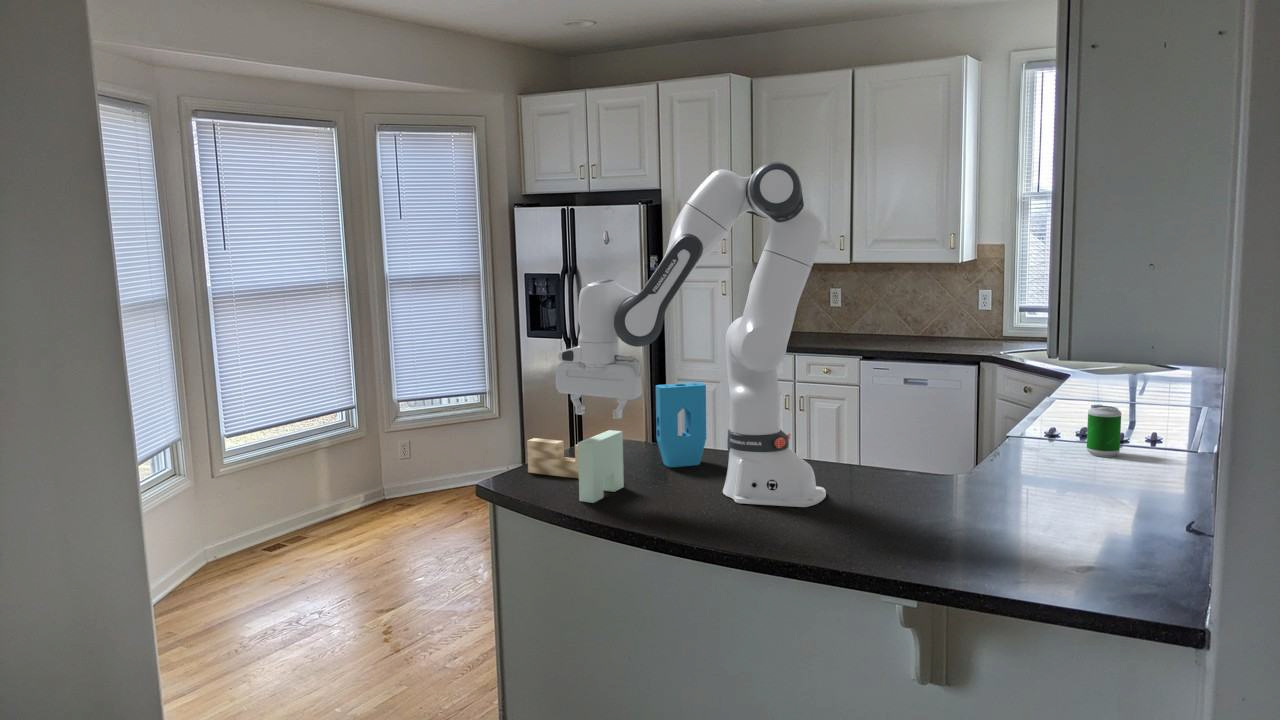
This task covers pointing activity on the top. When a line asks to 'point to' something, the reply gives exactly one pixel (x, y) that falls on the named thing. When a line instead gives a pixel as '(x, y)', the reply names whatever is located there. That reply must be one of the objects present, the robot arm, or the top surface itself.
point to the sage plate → (600, 465)
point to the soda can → (1103, 431)
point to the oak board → (551, 458)
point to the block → (667, 408)
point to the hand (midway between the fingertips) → (598, 416)
